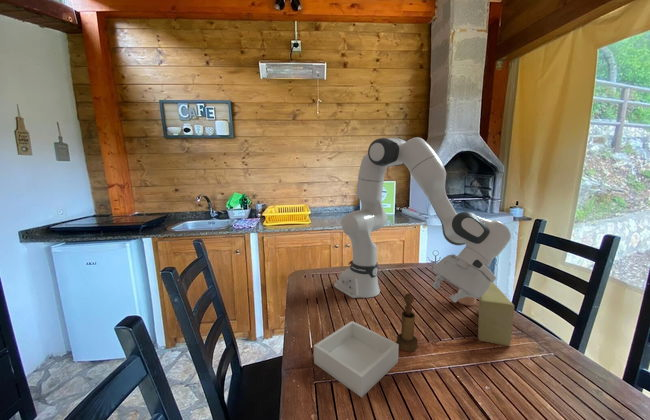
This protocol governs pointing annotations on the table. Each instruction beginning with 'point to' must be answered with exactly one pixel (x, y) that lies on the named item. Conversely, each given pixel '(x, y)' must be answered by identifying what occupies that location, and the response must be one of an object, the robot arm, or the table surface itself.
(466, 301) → the pepper shaker
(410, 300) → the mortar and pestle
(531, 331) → the table surface
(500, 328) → the cheese
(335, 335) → the open box
